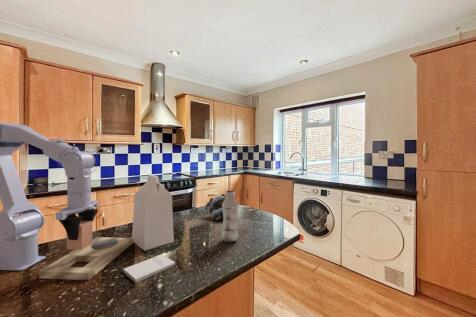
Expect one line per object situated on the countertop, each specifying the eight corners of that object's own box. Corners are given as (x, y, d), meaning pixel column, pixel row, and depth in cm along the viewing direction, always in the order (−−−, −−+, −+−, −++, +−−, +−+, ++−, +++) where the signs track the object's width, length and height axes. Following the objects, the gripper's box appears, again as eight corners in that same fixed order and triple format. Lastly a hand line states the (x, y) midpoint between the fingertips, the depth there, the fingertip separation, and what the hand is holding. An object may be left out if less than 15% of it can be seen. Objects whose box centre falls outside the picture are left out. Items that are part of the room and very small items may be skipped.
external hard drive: (122, 273, 65) (161, 258, 74) (135, 285, 60) (175, 266, 69) (122, 268, 65) (161, 253, 74) (135, 279, 60) (175, 261, 69)
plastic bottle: (241, 240, 89) (242, 191, 88) (229, 245, 84) (230, 193, 83) (230, 236, 93) (230, 189, 92) (218, 240, 88) (218, 191, 87)
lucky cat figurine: (209, 222, 110) (202, 196, 115) (212, 224, 122) (205, 200, 126) (238, 213, 112) (230, 187, 117) (237, 216, 123) (230, 192, 128)
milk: (131, 240, 87) (131, 175, 86) (159, 233, 95) (159, 173, 94) (144, 250, 79) (144, 178, 78) (173, 241, 87) (174, 176, 86)
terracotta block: (66, 249, 64) (66, 225, 64) (78, 242, 69) (78, 220, 69) (81, 249, 64) (81, 226, 64) (92, 243, 69) (92, 221, 68)
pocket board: (39, 278, 61) (38, 270, 61) (97, 242, 85) (97, 236, 85) (88, 279, 61) (88, 271, 60) (132, 243, 84) (132, 237, 84)
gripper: (73, 196, 59) (74, 247, 59) (107, 187, 73) (107, 228, 74) (47, 196, 59) (48, 246, 59) (86, 187, 73) (86, 227, 74)
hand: (79, 236), depth 66 cm, fingers closed on terracotta block, 4 cm apart
